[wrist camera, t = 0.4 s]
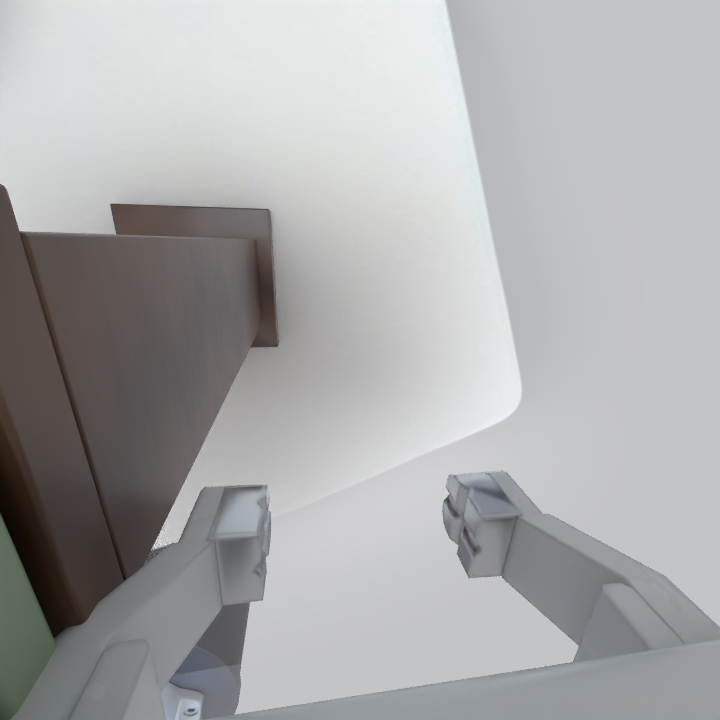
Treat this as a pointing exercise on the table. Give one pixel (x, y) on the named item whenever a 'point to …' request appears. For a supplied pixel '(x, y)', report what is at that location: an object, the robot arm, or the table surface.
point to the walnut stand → (117, 381)
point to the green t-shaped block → (19, 631)
